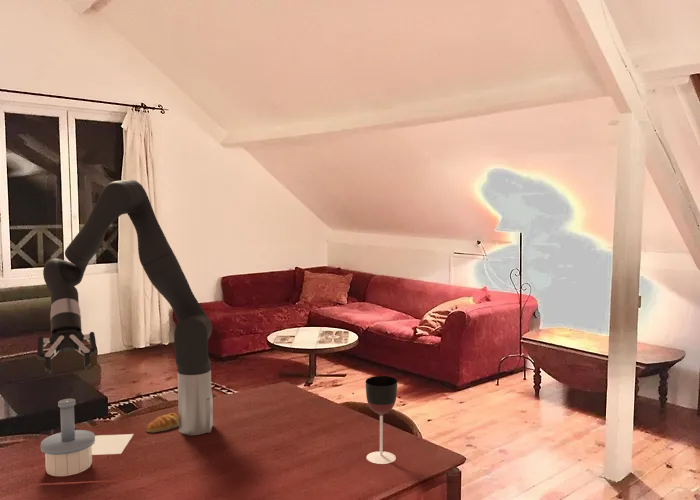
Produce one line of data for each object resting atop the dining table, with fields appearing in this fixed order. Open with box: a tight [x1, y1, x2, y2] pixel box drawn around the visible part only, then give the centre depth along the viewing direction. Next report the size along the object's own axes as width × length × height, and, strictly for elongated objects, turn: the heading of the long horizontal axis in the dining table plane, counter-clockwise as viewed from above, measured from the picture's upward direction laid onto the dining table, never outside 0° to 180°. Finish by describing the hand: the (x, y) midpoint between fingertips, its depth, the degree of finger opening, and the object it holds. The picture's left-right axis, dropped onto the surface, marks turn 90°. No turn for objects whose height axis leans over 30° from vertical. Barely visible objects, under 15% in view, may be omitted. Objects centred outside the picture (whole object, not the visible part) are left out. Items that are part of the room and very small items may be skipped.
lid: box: [40, 398, 96, 455], centre depth 144 cm, size 12×12×11 cm
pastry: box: [145, 412, 179, 433], centre depth 170 cm, size 9×7×4 cm
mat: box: [92, 433, 135, 456], centre depth 158 cm, size 13×13×1 cm
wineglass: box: [365, 375, 398, 465], centre depth 150 cm, size 8×9×20 cm
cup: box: [44, 446, 93, 477], centre depth 145 cm, size 10×10×6 cm
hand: (68, 369), depth 154 cm, fingers open, 8 cm apart
